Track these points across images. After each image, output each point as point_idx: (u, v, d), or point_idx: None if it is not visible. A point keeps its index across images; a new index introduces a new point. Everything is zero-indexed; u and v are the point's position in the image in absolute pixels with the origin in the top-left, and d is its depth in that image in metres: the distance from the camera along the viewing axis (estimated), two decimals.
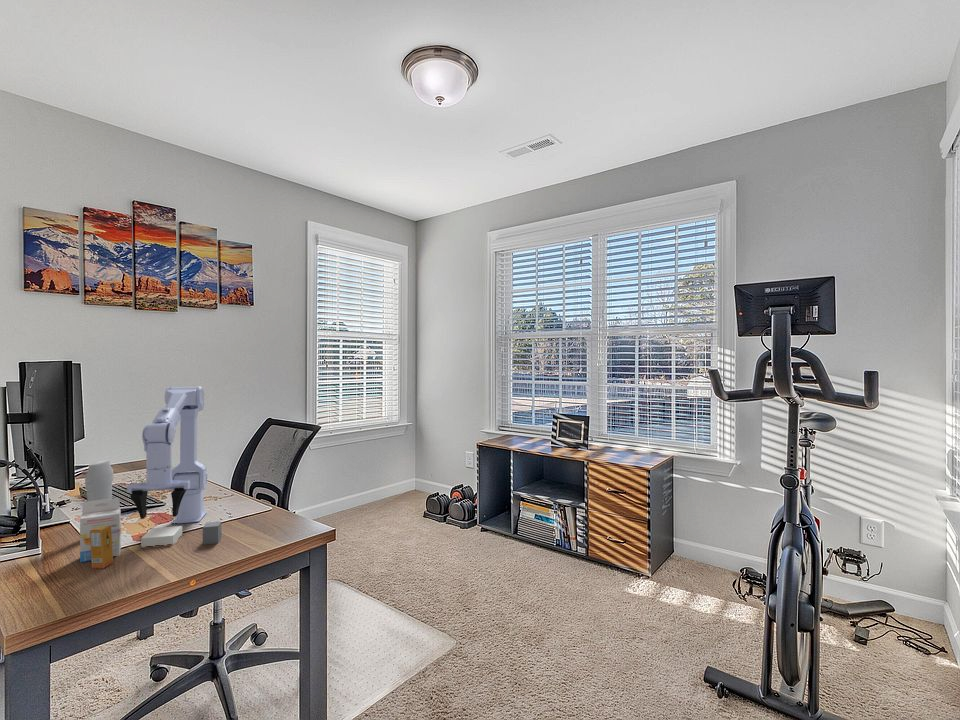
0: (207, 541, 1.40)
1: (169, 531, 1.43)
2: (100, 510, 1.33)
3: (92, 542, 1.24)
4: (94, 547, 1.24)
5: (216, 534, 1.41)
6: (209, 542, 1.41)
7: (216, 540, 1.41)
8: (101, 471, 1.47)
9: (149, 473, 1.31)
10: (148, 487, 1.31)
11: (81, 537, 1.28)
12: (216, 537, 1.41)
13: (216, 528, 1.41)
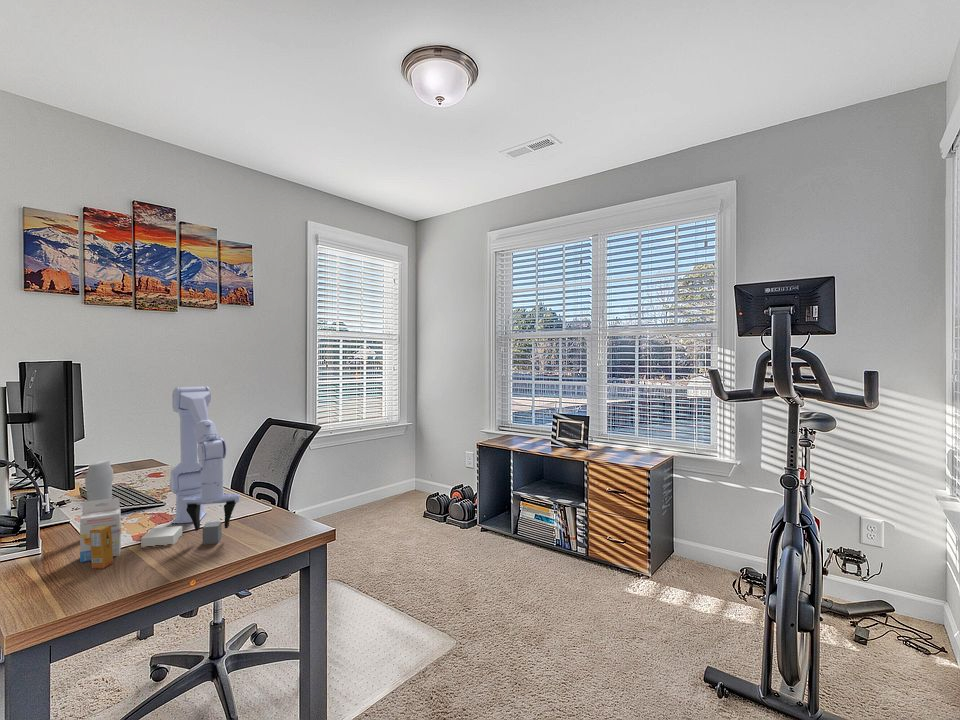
0: (207, 541, 1.40)
1: (169, 531, 1.43)
2: (100, 510, 1.33)
3: (92, 542, 1.24)
4: (94, 547, 1.24)
5: (216, 534, 1.41)
6: (209, 542, 1.41)
7: (216, 540, 1.41)
8: (101, 471, 1.47)
9: (204, 488, 1.40)
10: (203, 501, 1.39)
11: (81, 537, 1.28)
12: (216, 537, 1.41)
13: (217, 528, 1.41)
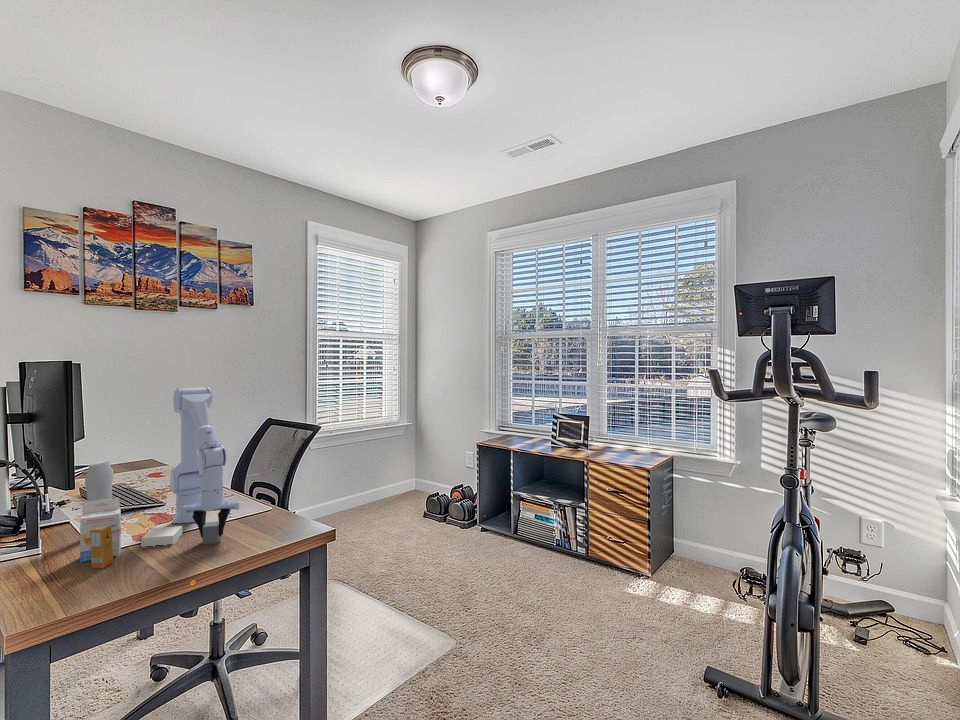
0: (207, 541, 1.40)
1: (169, 531, 1.43)
2: (100, 510, 1.33)
3: (92, 542, 1.24)
4: (94, 547, 1.24)
5: (216, 534, 1.41)
6: (209, 542, 1.41)
7: (216, 540, 1.41)
8: (101, 471, 1.47)
9: (204, 495, 1.40)
10: (203, 508, 1.39)
11: (81, 537, 1.28)
12: (216, 537, 1.41)
13: (216, 528, 1.41)
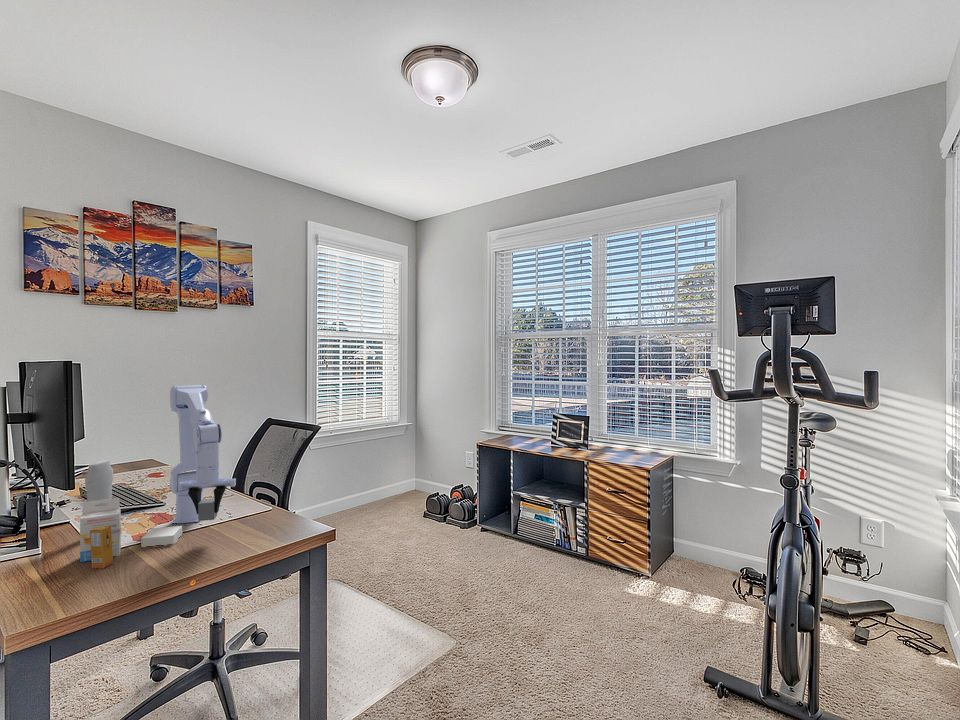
0: (203, 517, 1.40)
1: (169, 531, 1.43)
2: (100, 510, 1.33)
3: (92, 542, 1.24)
4: (94, 547, 1.24)
5: (212, 510, 1.41)
6: (205, 518, 1.41)
7: (212, 516, 1.41)
8: (101, 471, 1.47)
9: (199, 471, 1.39)
10: (198, 485, 1.39)
11: (81, 537, 1.28)
12: (212, 513, 1.41)
13: (212, 504, 1.41)
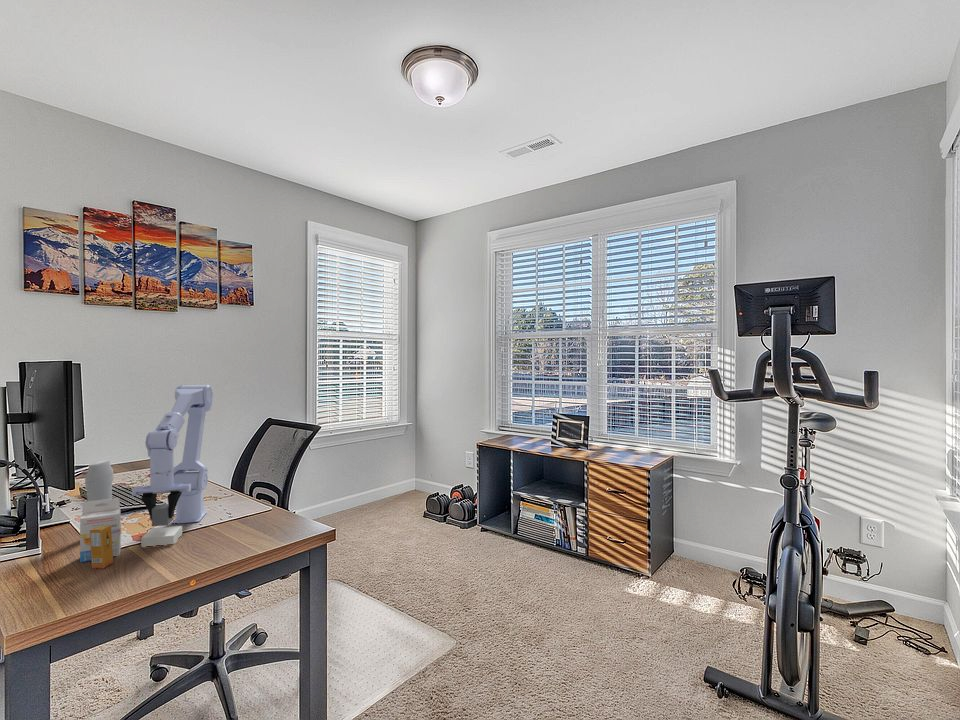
0: (156, 523, 1.40)
1: (169, 531, 1.43)
2: (100, 510, 1.33)
3: (92, 542, 1.24)
4: (94, 547, 1.24)
5: (165, 516, 1.41)
6: (158, 524, 1.41)
7: (165, 522, 1.41)
8: (101, 471, 1.47)
9: (153, 477, 1.40)
10: (152, 490, 1.39)
11: (81, 537, 1.28)
12: (165, 519, 1.41)
13: (166, 510, 1.41)
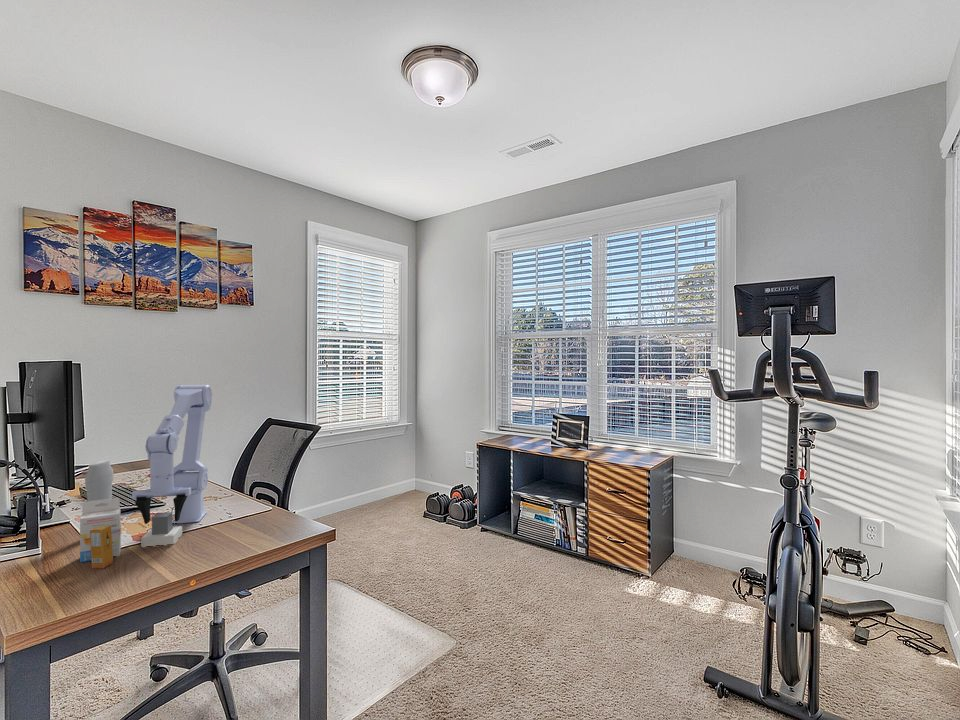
0: (156, 531, 1.41)
1: None
2: (100, 510, 1.33)
3: (92, 542, 1.24)
4: (94, 547, 1.24)
5: (166, 524, 1.41)
6: (158, 532, 1.41)
7: (166, 530, 1.41)
8: (101, 471, 1.47)
9: (153, 481, 1.40)
10: (152, 494, 1.39)
11: (81, 537, 1.28)
12: (166, 527, 1.41)
13: (166, 518, 1.41)
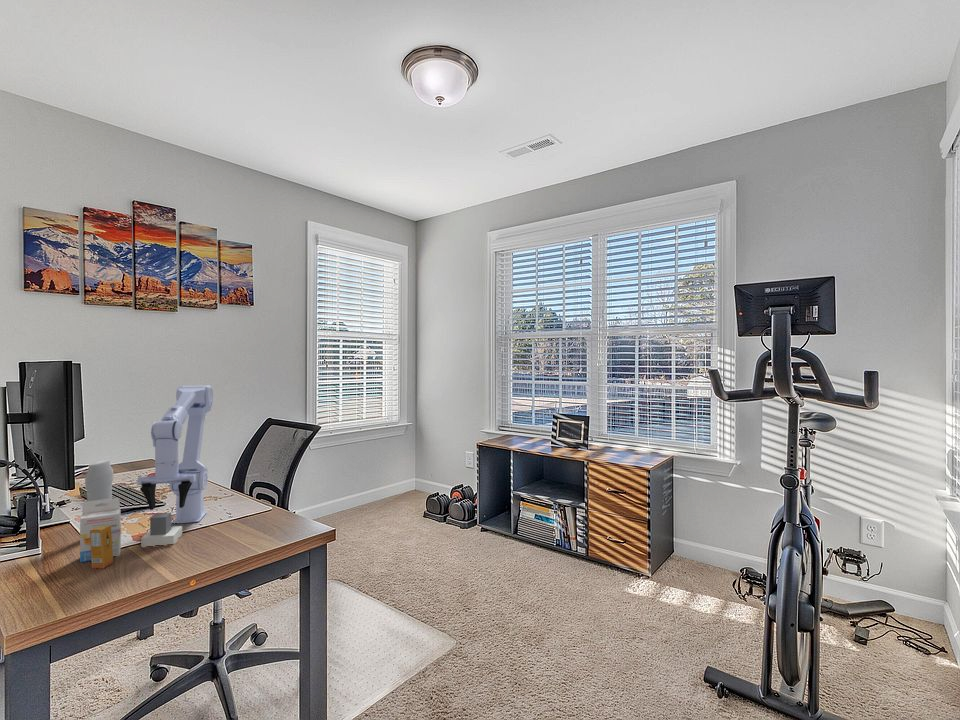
0: (155, 532, 1.40)
1: (169, 531, 1.43)
2: (100, 510, 1.33)
3: (92, 542, 1.24)
4: (94, 547, 1.24)
5: (164, 525, 1.41)
6: (157, 533, 1.40)
7: (164, 531, 1.41)
8: (101, 471, 1.47)
9: (158, 467, 1.40)
10: (157, 480, 1.40)
11: (81, 537, 1.28)
12: (164, 528, 1.41)
13: (164, 519, 1.41)
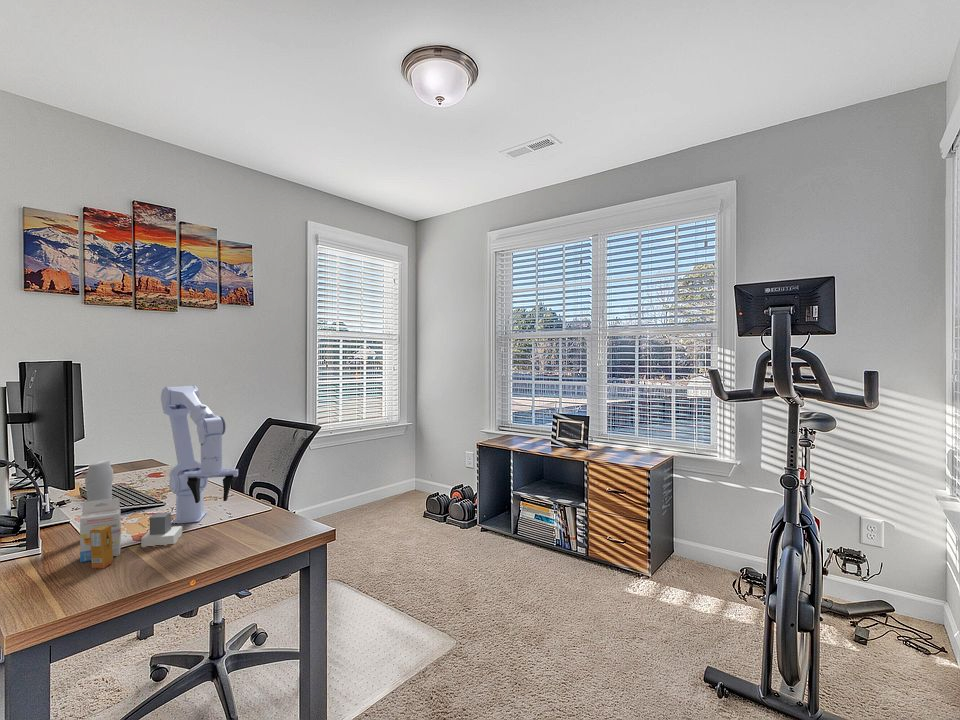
0: (154, 531, 1.40)
1: (169, 531, 1.43)
2: (100, 510, 1.33)
3: (92, 542, 1.24)
4: (94, 547, 1.24)
5: (163, 525, 1.41)
6: (156, 533, 1.41)
7: (163, 531, 1.41)
8: (101, 471, 1.47)
9: (204, 462, 1.47)
10: (202, 474, 1.46)
11: (81, 537, 1.28)
12: (163, 528, 1.41)
13: (163, 519, 1.41)
